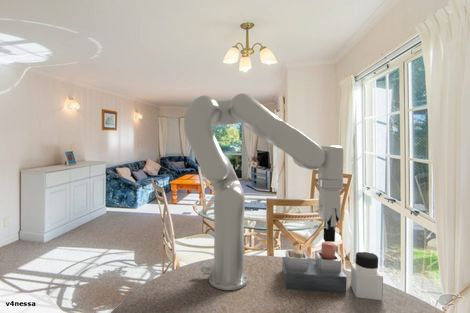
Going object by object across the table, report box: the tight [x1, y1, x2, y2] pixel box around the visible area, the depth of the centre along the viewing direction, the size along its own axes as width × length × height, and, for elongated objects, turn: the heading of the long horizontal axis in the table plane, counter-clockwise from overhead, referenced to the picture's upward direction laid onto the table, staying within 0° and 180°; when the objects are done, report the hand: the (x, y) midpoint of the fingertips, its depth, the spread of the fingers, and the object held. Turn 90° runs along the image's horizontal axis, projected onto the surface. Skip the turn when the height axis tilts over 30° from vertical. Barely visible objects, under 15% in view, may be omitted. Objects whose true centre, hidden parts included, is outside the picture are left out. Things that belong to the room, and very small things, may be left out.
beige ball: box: [290, 249, 303, 258], centre depth 86 cm, size 4×4×4 cm
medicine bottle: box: [350, 250, 384, 301], centre depth 79 cm, size 7×7×12 cm
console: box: [281, 249, 348, 294], centre depth 86 cm, size 18×12×9 cm, turn 84°
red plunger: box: [320, 241, 336, 259], centre depth 85 cm, size 4×4×4 cm
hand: (329, 240), depth 85 cm, fingers closed
